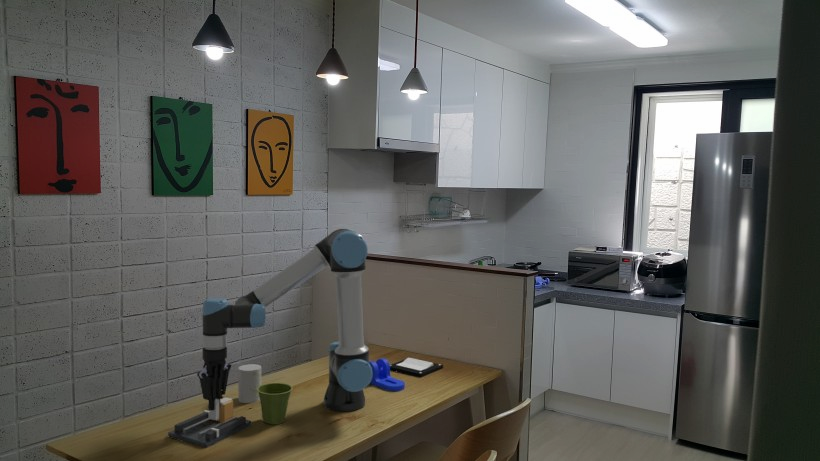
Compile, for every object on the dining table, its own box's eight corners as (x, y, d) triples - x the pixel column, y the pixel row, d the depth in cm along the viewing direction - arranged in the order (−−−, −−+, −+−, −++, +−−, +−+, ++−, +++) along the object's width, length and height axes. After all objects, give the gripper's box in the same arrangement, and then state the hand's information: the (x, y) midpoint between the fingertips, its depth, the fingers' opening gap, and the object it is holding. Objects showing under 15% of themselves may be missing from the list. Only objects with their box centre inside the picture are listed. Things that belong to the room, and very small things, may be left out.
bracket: (363, 381, 251) (363, 360, 250) (378, 377, 257) (379, 356, 256) (393, 393, 238) (394, 370, 238) (408, 388, 244) (409, 366, 244)
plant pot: (274, 430, 199) (275, 396, 198) (248, 422, 205) (249, 389, 205) (299, 419, 209) (300, 386, 208) (274, 411, 215) (274, 380, 215)
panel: (251, 425, 203) (251, 417, 203) (206, 447, 185) (206, 439, 185) (214, 416, 210) (214, 408, 210) (168, 437, 192) (168, 428, 192)
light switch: (443, 361, 273) (421, 370, 258) (443, 369, 273) (421, 378, 258) (409, 354, 283) (386, 362, 268) (409, 361, 283) (385, 370, 269)
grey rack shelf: (246, 422, 201) (246, 416, 201) (210, 440, 187) (210, 433, 186) (210, 414, 208) (210, 407, 208) (173, 430, 193) (173, 423, 193)
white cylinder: (255, 404, 222) (255, 371, 222) (234, 401, 224) (234, 369, 223) (264, 396, 230) (265, 365, 230) (244, 394, 232) (244, 363, 231)
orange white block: (233, 418, 204) (233, 399, 203) (224, 423, 200) (224, 403, 199) (224, 416, 205) (224, 397, 205) (214, 420, 202) (214, 401, 201)
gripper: (220, 341, 204) (220, 410, 206) (190, 349, 193) (190, 423, 194) (237, 344, 201) (237, 414, 203) (208, 353, 189) (208, 427, 191)
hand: (214, 418), depth 198 cm, fingers closed
